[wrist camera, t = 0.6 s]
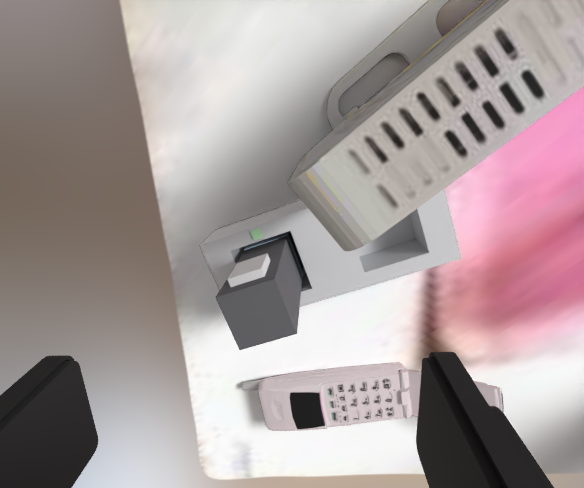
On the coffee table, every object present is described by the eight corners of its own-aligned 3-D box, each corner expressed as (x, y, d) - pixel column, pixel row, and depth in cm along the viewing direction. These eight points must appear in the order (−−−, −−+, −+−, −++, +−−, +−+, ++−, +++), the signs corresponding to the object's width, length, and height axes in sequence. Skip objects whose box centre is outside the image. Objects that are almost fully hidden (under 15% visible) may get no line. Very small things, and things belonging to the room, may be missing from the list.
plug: (304, 267, 35) (297, 334, 23) (264, 279, 35) (239, 350, 24) (287, 222, 34) (271, 269, 22) (246, 236, 34) (211, 289, 23)
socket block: (441, 240, 34) (462, 259, 29) (246, 301, 37) (235, 327, 32) (419, 158, 32) (438, 163, 27) (215, 230, 35) (198, 246, 30)
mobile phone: (505, 439, 34) (243, 461, 36) (478, 396, 39) (253, 417, 42) (504, 384, 32) (230, 412, 35) (476, 347, 38) (242, 373, 40)
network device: (344, 205, 34) (379, 302, 15) (283, 130, 32) (234, 129, 13) (612, -4, 28) (1266, -302, 9) (554, -111, 26) (1201, -768, 7)
